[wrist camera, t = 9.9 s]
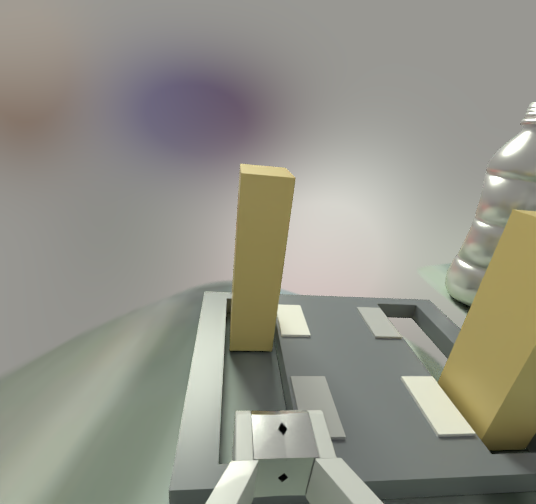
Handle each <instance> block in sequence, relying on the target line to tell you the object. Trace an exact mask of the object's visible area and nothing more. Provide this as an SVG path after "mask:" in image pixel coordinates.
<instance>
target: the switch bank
mask: <svg viewBox="0 0 536 504" xmlns="http://www.w3.org/2000/svg"><path fill="white" fill-rule="evenodd" d="M231 300H232V293H229V292H205V293H204V298H203V304H202V309H201V315H200V320H199V326H198V332H197V337H196V343H195V348H194V354H193V359H192V365H191V371H190V376H189V382H188V387H187V393H186V398H185V404H184V410H183V415H182V421H181V426H180V432H179V437H178V443H177V448H176V454H175V460H174V465H173V471H172V476H171V482H170V487H169V503H170V504H205V503H206V502H207V500H208V498H209V497H210V495H211V493H212V492H213V490H214V488H215V486H216V485H217V483H218V481H219V480H220V478H221V476H222V475H223V473H224V471H225V470H226V468H227V466H228V465H229V464H218V463H219V443H220V423H221V403H222V383H223V363H224V343H225V323H226V313H231ZM387 317H397V318H400V317H401V318H412V319H413V320H414V321H415V322H416V323H417V324H418V326H419V327H420V328H421V329H422V330H423V331H424V332H425V333H426V335H427V336H428V337H429V338H430V339H431V340H432V341H433V343H434V344H435V345H436V346H437V347H438V348H439V349H440V350H441V352H442V353H443V354H444V355H445V356H446V357H447V358H449V355H450V353H451V351H452V348H453V346H454V344H455V341H456V339H457V337H458V335H459V332H460V330H461V329H460V328H459V327H458V326H456V324H454V323H453V322H452V321H451V320H450V319H449V318H448V317H447V316H446V315H445V314H444V313H443V312H442V311H441V310H439V309H438V308H437V307H436V306H435V305H434V304H433V303H432V302H431V301H430V300H418V299H417V300H416V299H391V298H363V297H336V296H335V297H334V296H310V295H283V294H280V296H279V303H278V310H277V318H276V325H275V332H274V340H275V346H276V351H277V357H278V363H279V369H280V374H281V380H282V386H283V391H284V397H285V403H286V409H287V410H306V411H307V410H321V411H322V412H323V414H324V417H325V421H326V424H327V427H328V431H329V434H330V437H331V441H332V444H333V447H334V451H335V454H336V457H337V458H342V459H343V460H344V462H345V463H346V464H347V465H348V466H349V467H350V468H351V469H352V470H353V471H354V472H355V473H356V474H357V476H358V477H359V478H360V479H361V480H362V481H363V482H364V483H365V484H366V485H367V486H368V487H369V488H370V490H371V491H372V492H373V493H374V494H375V495H376V496H377V497H378V498H379V499H380V500H383V499H402V498H420V497H438V496H456V495H474V494H492V493H511V492H529V491H536V433H535V435H534V436H533V438H532V439H531V441H530V442H529V444H528V445H527V447H526V448H527V449H528V450H529V451H530V452H531V453H510V454H491V453H490V451H489V450H488V449H487V447H486V446H485V445H484V443H483V442H482V441H481V439H480V438H479V437H478V436H477V434H476V433H475V432H474V430H473V429H472V428H471V426H470V425H469V424H468V422H467V421H466V420H465V418H464V417H463V416H462V415H461V413H460V412H459V411H458V409H457V408H456V407H455V405H454V404H453V403H452V401H451V400H450V399H449V398H448V396H447V395H446V394H445V392H444V391H443V390H442V388H441V387H440V386H439V384H438V383H437V382H436V380H435V379H434V378H433V377H432V375H431V374H430V373H429V371H428V370H427V369H426V367H425V366H424V365H423V363H422V362H421V361H420V360H419V358H418V357H417V356H416V354H415V353H414V352H413V350H412V349H411V348H410V346H409V345H408V344H407V342H406V341H405V340H404V339H403V337H402V336H401V335H400V333H399V332H398V331H397V329H396V328H395V327H394V325H393V324H392V323H391V322H390V320H389V319H388V318H387ZM251 504H310V503H309V501H308V500H307V498H306V495H287V496H280V495H279V496H267V497H255V498H253V501H252V503H251Z"/></svg>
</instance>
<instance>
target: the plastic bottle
mask: <svg viewBox="0 0 536 504" xmlns="http://www.w3.org/2000/svg"><path fill="white" fill-rule="evenodd" d="M520 125H523V128H522V130H521V132H520V133H519V134H518V135H516V136H515V137H514V138H512V139H511V140H510V141H508V142H507V143H506V144H505V145H504V146H502V147H501V148H500V149H499V150H498V151H497V152H496V153H495V154H494V155H493V157H492V158H491V160H490V161H489V163H488V166H487V169H486V171H487V173H486V175H485V179H484V183H483V188H482V192H481V197H480V201H479V204H478V207H477V210H476V217H475V218H474V219H473V223H472V226H471V228H470V230H469V232H468V234H467V236H466V239H465V240H464V242H463V245H462V247H461V249H460V251H459V254H457V255H456V257H455V258H454V260H453V261H452V263H451V265H450V267H449V268H448V270H447V275H446V281H445V285H446V288H447V291H448V293H449V294H450V295H451V296H452V297H453V298H455V299H456V300H458V301H459V302H461V303H463V304H465V305H468V306H470V307H471V305H472V302H473V300H474V298H475V295H476V293H477V291H478V288H479V286H480V284H481V281H482V279H483V277H484V275H485V272H486V270H487V268H488V265H489V263H490V261H491V258H492V256H493V254H494V251H495V249H496V247H497V245H498V242H499V240H500V238H501V235H502V233H503V231H504V228H505V226H506V224H507V221H508V219H509V217H510V215H511V212H512V210H513V209H514V210H526V211H536V102H533V103H530V105H529V107H528V110H527V112H526V114H525V117H524V119H522V121H521V123H520Z"/></svg>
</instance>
